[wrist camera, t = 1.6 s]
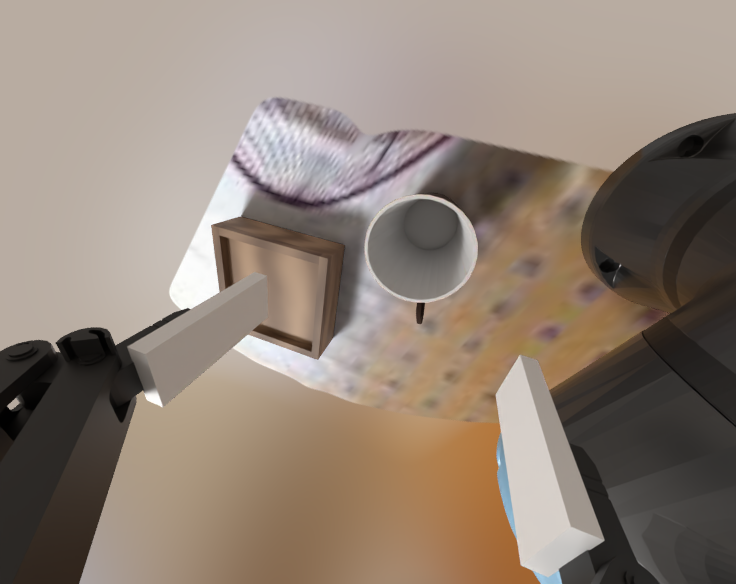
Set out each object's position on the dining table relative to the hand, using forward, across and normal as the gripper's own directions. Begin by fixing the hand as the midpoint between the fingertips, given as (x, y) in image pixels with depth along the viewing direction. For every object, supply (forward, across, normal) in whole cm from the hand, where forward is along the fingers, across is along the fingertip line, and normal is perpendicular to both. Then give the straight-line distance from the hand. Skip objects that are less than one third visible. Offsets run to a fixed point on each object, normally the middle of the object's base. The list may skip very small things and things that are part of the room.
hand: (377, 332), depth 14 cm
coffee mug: (+19, 0, 0) cm, 19 cm away
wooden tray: (+19, +16, +11) cm, 27 cm away
